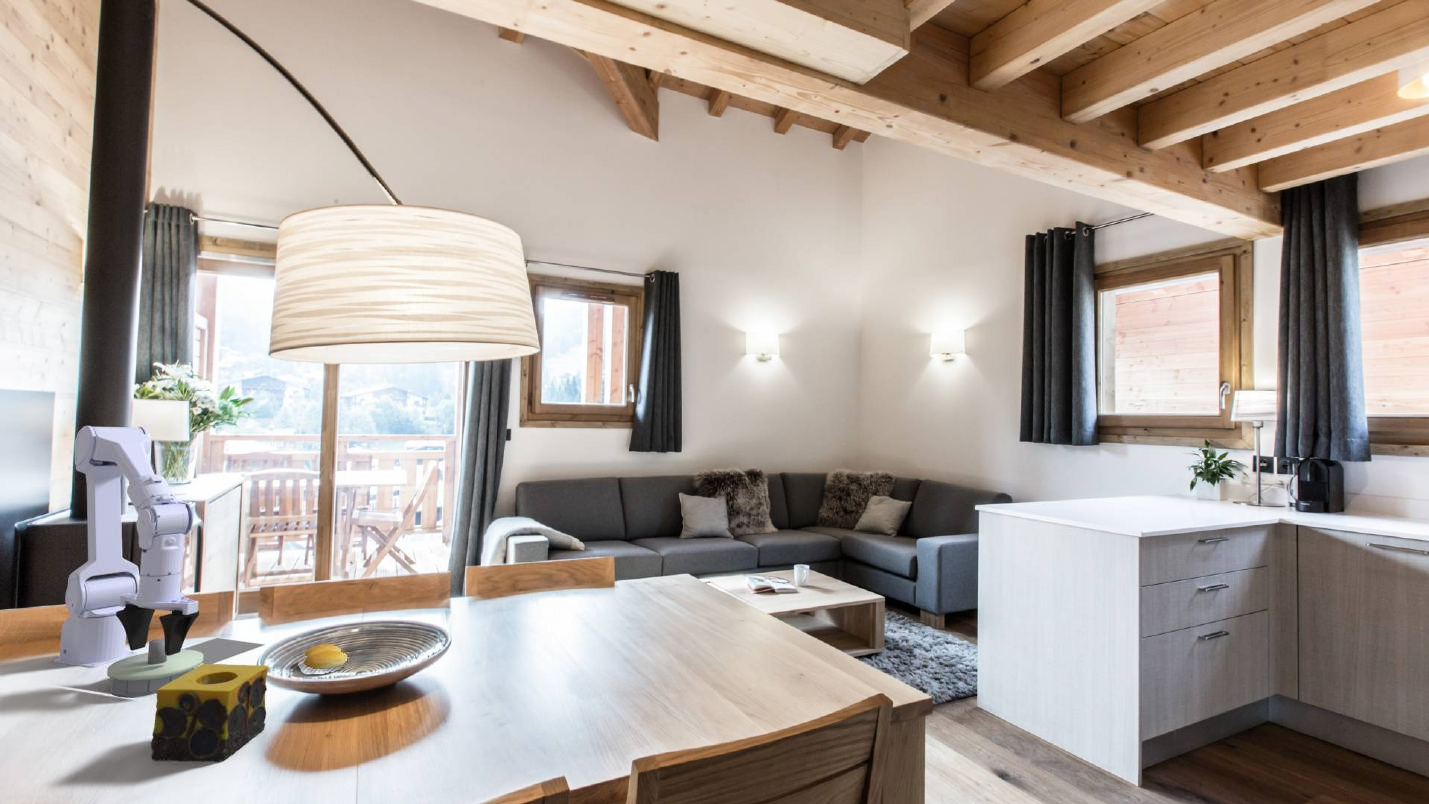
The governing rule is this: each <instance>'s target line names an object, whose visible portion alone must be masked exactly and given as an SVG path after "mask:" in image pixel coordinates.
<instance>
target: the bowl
mask: <svg viewBox="0 0 1429 804" xmlns="http://www.w3.org/2000/svg"><path fill="white" fill-rule="evenodd" d="M193 669H195V668H193ZM193 669H191V670H193ZM191 670H189V671H191ZM189 671H186V672H183V673H179V674H176V675H172V676H167V677H162V678H156V679H148V680H135V681H125V680H116V679H112V678H110V677H109V678H110V679H109V681H110V682H109V687H110V693H111V695H112V696H115V697H117V698H128V699H129V698H130V699H131V698H135V697H133V696H145V695H152V694H157V690H158V689H159V688H161V687H163V686H164V685H166V684H168V683H170V682H172V681H173V680H175V679H177V678H179V677H181V676H183V675H184V674H186V673H188V672H189Z"/></svg>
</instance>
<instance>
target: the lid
mask: <svg viewBox="0 0 1429 804" xmlns="http://www.w3.org/2000/svg"><path fill="white" fill-rule="evenodd" d="M202 662H203V654H202V653H201V652H198V651H194V650H181V651H180V652H179V653H176V654H173V655H170V656H167V655H166V654H165V638H159V639H157V638H156V639H152V640H150V641H149V642H148V652H143V653H140V654H136V655H133V656H130V657H127V658H123V659H120V660H117V661H114V662H112V664H110V665H109V666H108V667H107V669H106V670H107V671H106V675H107V677H108V678H112V679H116V680H125V681H135V680H148V679H156V678H162V677H167V676H172V675H176V674H179V673H183V672H186V671H189V670H191V669H193V668H194V669H195V668H196V667H198V666H200V665H202V664H203V663H202Z"/></svg>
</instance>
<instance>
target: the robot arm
mask: <svg viewBox="0 0 1429 804" xmlns="http://www.w3.org/2000/svg"><path fill="white" fill-rule="evenodd" d="M151 447H152V436H151V433H150V432H149V430H148V429H147V428H146V427H145V426H138V427H134V426H133V427H131V426H129V427H128V426H127V427H124V426H123V427H121V426H118V427H117V426H91V425H85V426H83V427H82V428H81V429H79V431H78V432H77V435H76V437H75V440H74V465H75V470H76V471H77V472H80V473H82V474H85V480H86V501H87V502H86V503H87V504H86V509H87V510H86V511H87V513H86V514H87V561H86V562H85V563H84V564H82V565H81V566H80V567H78V568H77V569H75V570H74V571H73V572H71V573H70V574H69V575H68V579H67V580H68V581H67V588H66V591H65V599H64V601H65V608H66V609H67V611H68V612H69V613H70V615H69V616H68V617H67V618H66V619H65V621H64V622H63V625H62V627H61V632H60V634H61V635H60V648H59V657H58V658H55V659H54V660H53V662H54V663H58V664H59V663H60V664H65V665H72V666H78V667H84V668H92V669H93V668H98V667H101V666H104V665H107V664H110V663H115V662H117V661H119V660H122V659H125V658H128V657H131V656H135V655H138V652H137V651H136V650H140V649H143V648H145V647H146V646H147V643H148V636H149V629H150V625H151V622H152V618H153V616H154V614H155V611H156V610H157V611H158V610H159V611H166V612H171V613H167V614H164V615H160V616H159V618H158V619H159V621H160V624H161V626H162V630H163V636H164V639H165V654H166V655H167V656H170V655H173V654H176V653H179V652H180V651H181V649H183V648H182V647H183V646H184V645H183V644H184V642H185V640H186V637H187V635H188V632H189V631H190V629H191V627H192V626H193V623H194V622H195V621H196V620H197V618H198V617H199V616H200V610H199V600H194V599H191V598H188V597H185V596H186V594H185V593H184V592H181V587H182V573H183V563H184V562H183V561H184V551H185V550H184V549H185V548H184V547H185V535H187V534H189V533H190V532H191V530H192V528H193V524H194V513H193V509H192V507H191V505H190V503H188V502H187V501H183V500H182V499H178V498H176V496H175V494H174V493H173V491H172V489H171V487H170V485H169V484H168V481H166V478H165V477H163V476H162V475H158V474H155V471H154V470H153V467H152V464H151V462H150V458H149V457H148V455H149V453H150V450H151ZM123 475H124V477H125V478H126V479H127V480H128V482H129V484H128V486H127V489H126V494H127V495H128V498H129V499H130V501H131V504H132V505H133V507H134V509H135V510H136V513H137V518H136V519H137V520H136V530H137V535H138V547H139V548H141V556H140V568H139V566H138V565H136V564H135V563H133V562H132V561H129V560H127V559H125V558H123V538H122V537H123V536H122V535H123V534H122V533H123V532H122V530H123V529H122V528H123V527H122V496H121V495H122V493H121V491H122V489H121V486H122V485H121V478H122V476H123ZM139 569H140V571H139ZM109 574H111V576H105V575H109ZM112 574H117V575H112ZM103 575H104V577H95V576H103ZM91 577H95V578H91ZM126 642H128V646H129V650H126Z"/></svg>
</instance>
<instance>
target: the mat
mask: <svg viewBox="0 0 1429 804" xmlns="http://www.w3.org/2000/svg"><path fill="white" fill-rule="evenodd" d="M263 646H266V644H265V643H262V644H261V643H257V642H249V641H242V640H241V641H240V640H234V639H227V638H219V637H215V638H212V639H209V640H206V641H204V642H203V641H202V642H200V643H198V644H197V643H196V644H194V645H191V646H188V647H187V646H186V647H185V648H181V650H194V651H198V652H201V653H202V654H203V662H202V663H201V664H217V663H219V662H222V661H224V660H227V659H230V658H232V657H235V656H237V655H240V654H243V653H247V652H249V651H252V650H254V649H257V648H260V647H261V648H262V647H263Z"/></svg>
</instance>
